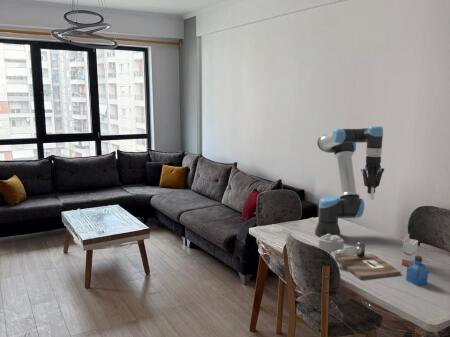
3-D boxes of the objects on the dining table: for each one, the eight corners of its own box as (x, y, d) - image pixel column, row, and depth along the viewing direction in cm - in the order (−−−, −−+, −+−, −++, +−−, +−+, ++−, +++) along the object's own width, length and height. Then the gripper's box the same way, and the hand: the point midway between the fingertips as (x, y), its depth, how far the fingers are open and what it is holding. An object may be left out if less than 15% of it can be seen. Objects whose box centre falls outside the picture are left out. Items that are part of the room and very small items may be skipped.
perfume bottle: (416, 285, 185) (419, 260, 182) (405, 280, 190) (408, 255, 188) (426, 283, 187) (429, 258, 185) (415, 278, 193) (417, 253, 190)
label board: (334, 260, 213) (334, 256, 212) (372, 256, 218) (372, 252, 218) (359, 279, 191) (359, 275, 190) (400, 274, 196) (400, 270, 196)
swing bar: (360, 253, 217) (361, 240, 216) (366, 255, 214) (367, 243, 212) (329, 260, 207) (330, 247, 206) (335, 263, 204) (336, 250, 203)
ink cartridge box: (411, 267, 205) (414, 239, 202) (401, 264, 208) (403, 236, 205) (416, 262, 211) (418, 234, 209) (406, 259, 214) (408, 232, 212)
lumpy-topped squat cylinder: (345, 254, 221) (345, 238, 220) (321, 255, 220) (322, 239, 218) (337, 247, 232) (338, 232, 230) (315, 248, 230) (315, 233, 228)
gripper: (366, 157, 211) (363, 201, 215) (388, 156, 214) (385, 200, 219) (358, 155, 218) (356, 198, 223) (380, 154, 222) (377, 196, 226)
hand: (370, 199), depth 221 cm, fingers closed
